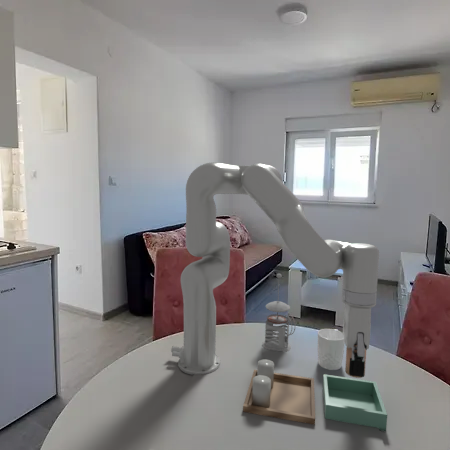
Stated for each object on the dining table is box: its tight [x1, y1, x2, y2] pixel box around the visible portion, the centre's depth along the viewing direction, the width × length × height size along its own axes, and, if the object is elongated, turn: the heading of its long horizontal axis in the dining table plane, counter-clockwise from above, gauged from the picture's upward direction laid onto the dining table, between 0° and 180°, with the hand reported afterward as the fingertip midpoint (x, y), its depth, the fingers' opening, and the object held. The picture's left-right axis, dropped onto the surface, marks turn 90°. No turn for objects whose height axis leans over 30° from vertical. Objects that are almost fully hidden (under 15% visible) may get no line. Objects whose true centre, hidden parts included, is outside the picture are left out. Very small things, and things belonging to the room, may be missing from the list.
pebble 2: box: [252, 375, 271, 408], centre depth 82 cm, size 4×4×6 cm
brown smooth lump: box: [344, 345, 367, 379], centre depth 80 cm, size 4×4×6 cm
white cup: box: [317, 328, 346, 371], centre depth 101 cm, size 8×8×10 cm
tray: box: [242, 369, 316, 426], centre depth 85 cm, size 16×16×2 cm
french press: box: [261, 273, 297, 353], centre depth 111 cm, size 10×12×25 cm
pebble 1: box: [256, 358, 275, 388], centre depth 89 cm, size 4×4×6 cm
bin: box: [322, 373, 388, 432], centre depth 82 cm, size 13×13×4 cm
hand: (355, 369), depth 81 cm, fingers closed on brown smooth lump, 4 cm apart
